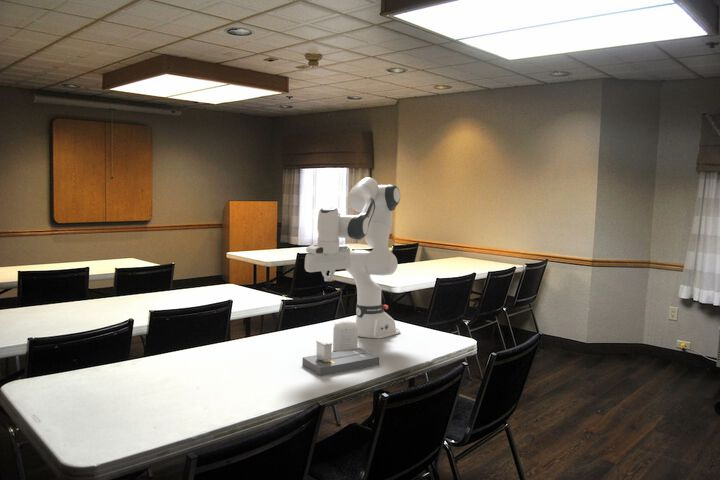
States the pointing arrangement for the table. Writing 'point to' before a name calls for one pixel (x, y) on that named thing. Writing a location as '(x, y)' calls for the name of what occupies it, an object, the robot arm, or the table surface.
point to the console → (341, 361)
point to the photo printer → (345, 336)
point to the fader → (324, 350)
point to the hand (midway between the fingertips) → (328, 280)
